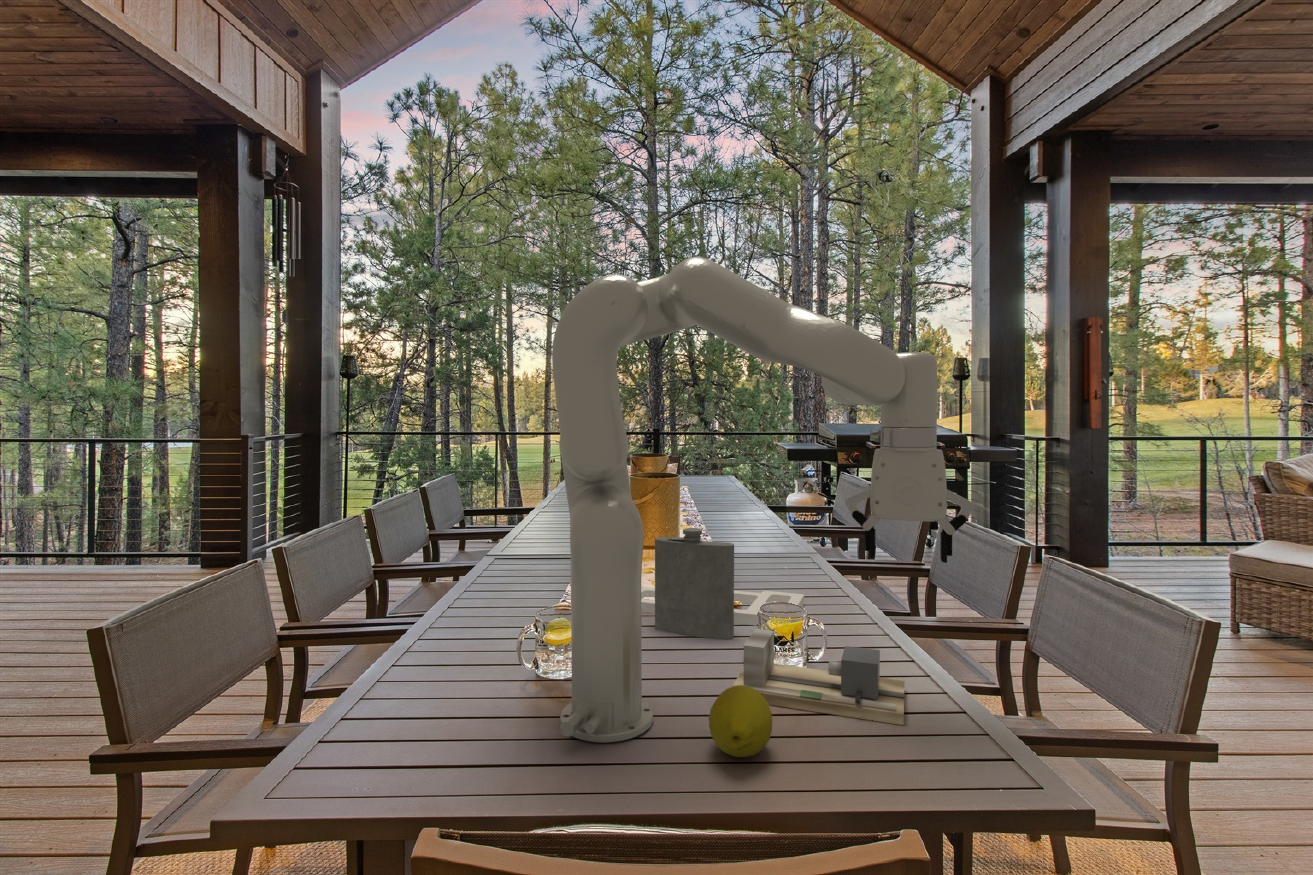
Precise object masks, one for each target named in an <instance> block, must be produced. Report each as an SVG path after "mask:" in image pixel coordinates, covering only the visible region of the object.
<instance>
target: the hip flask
mask: <svg viewBox="0 0 1313 875" xmlns="http://www.w3.org/2000/svg"><path fill="white" fill-rule="evenodd" d="M682 534H683V535H684V536H683V537H682V536H681V537H679V536H675V537H674V536H671V537H667V536H662V537H659V536H658V537H656V538H654V588H655V614H654V628H655V629H656V630H657V631H661V632H667V633H670V634H676V635H682V636H689V637H694V636H695V637H694V638H704V639H712V640H713V639H714V640H724V641H725V640H732V639H734V638H735V623H734V609H735V603H734V590H735V544H734V543H733V542H721V541H720V542H719V541H704V540H701V539H702V538H701V537H702V536H701V535H702V534H703V529H701V528H696V527H695V528H694V527H687V528H683V529H682Z"/></svg>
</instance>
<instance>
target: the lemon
mask: <svg viewBox="0 0 1313 875" xmlns="http://www.w3.org/2000/svg"><path fill="white" fill-rule="evenodd" d="M708 727H709V731H710V734H711V737H712V740H713V741H714V743H715V745H716V747H718V749H719V750H720V751H722V752H724V753H725V754H727V755H728V756H729V755H730V756H731V757H735V758H749V757H752V756H754V755H755V756H756V754H758V753H760V752H761V751H762V750H763V749H764V748H765V746H766V745H767V744H768V742H770V739H771V734H772V730H773V714H772V709H771V707H770V705H769V704H768V702H767V701H766V700H765V698H764V697H763V696H762V695H761V694H760V693H759V692H758V691H756V690H755V689H753V688H750V687H748V686H743V685H739V686H733V687H732V686H730V687H728V688H726V689H725V690H724V691H722V692H721V693H720V694H718V696H717V698H716V699H715V700H714V701H713V703H712V705H711V707H710V710H709V716H708Z"/></svg>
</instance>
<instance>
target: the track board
mask: <svg viewBox="0 0 1313 875" xmlns="http://www.w3.org/2000/svg"><path fill="white" fill-rule="evenodd" d="M739 685H743V686H748V687H750V688H753V689H755V690H756V691H758V692H759V693H760V694H761V695H762V696H763V697H764V698H765V700H766V701H767V702H768V704H769V706H777V707H784V708H789V709H796V710H802V711H806V712H807V711H809V712H815V713H821V714H826V715H827V714H828V715H835V716H842V717H846V718H847V717H848V718H853V719H860V720H867V721H872V720H873V722H881V723H887V724H893V725H899V726H905V725H904V724H905V720H904V719H905V718H904V717H905V685H906V684H905V680H903V679H902V680H901V679H892V678H886V677H880V678H879V691H878V699H872V698H865V697H861V699H860V704H855V698H856V696H851V695H844V694H841V676H835V675H829V673H828V670H825V669H819V668H818V669H817V668H813V667H812V668H810V667H802V666H795V665H789V664H788V665H787V664H782V663H781V664H780V663H775V630H770V629H768V630H767V629H759V628H755V629H754V630H753V632H752V633H751V634H750V635H749V637H748V638H747V640H746V641H745V642H744V644H743V669H742V670H741V671H740V673H739V675H738V676H737V678H736V679H735V681H734V682H733V684H732V686H731V687H733V686H739Z"/></svg>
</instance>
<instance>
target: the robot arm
mask: <svg viewBox="0 0 1313 875" xmlns="http://www.w3.org/2000/svg"><path fill="white" fill-rule="evenodd" d="M695 326H697V327H699V328H701V329H703V330H705V331H707V332H709V333H710V334H713V335H715V336H717V337H718V338H720V339H722V340H724V341H726V342H728V343H729V344H731V345H733V346H735V347H736V348H738V349H740V350H742V351H743V352H745V353H747V354H749V355H750V356H752V357H755V358H757V359H760V360H763V361H765V362H769V363H774V364H779V365H780V364H781V365H786V366H792V367H795V368H799V369H802V370H805V371H808V372H811V373H813V374H816V375H818V376H819V377H821V385H822V389H823V391H824V392H825V394H826V395H827V396H828V397H829V398H830V400H832V401H834V402H836V403H838V404H842V405H846V406H847V405H848V406H850V405H851V406H862V405H865V406H867V405H868V406H869V405H880V428H879V429H878V430H875V431H870V432H869V436H870V437H869V438H870V439H869V441H871V442H872V441H873V442H877V443H878V444H880V448H876V449H874V454H873V458H872V459H873V460H872V466H871V473H870V474H871V477H870V486H869V487H868V488H865V489H863V490H861V491H859V492H857V493H854V494H852V495H851V496H848V497H846V498H845V501H844V504H845V505H846V507H847V509H848V511H849V512H850V515H851V517H852V518H853V519H854V520H855V521H856V522H857V524H859V525H860V526H861V528H862V529H863V530H864V552H869V559H874V558H875V557H876V528H875V525H876V524H877V523H878V522H879V521H880V520H888V521H905V522H906V521H907V522H909V521H911V522H913V521H914V522H937V524H938V525H939V526H940V527H941V528H942V529H941V532H940V535H939V536H940V539H939V541H940V543H939V544H940V545H939V546H940V548H939V550H940V553H939V555H940V561H941V563H943V564H947V563H948V557H952V556H953V535H954V534H955V533H956V531H957V530H959V529H960V528H961V527H963V526H964V525H965V524H966V523H967V520H968V519H969V517H970V516H971V514H972V512H973V511H974V509H975V507H976V506H975V504H974V502H973V501H971V500H969V499H967V498H965V497H964V496H961V495H959V494H957V493H955V492H953V491H951V490H949V489H947V471H946V464H945V456H944V452H943V450H942V449H938V448H937V444H938V443H937V437H938V436H937V433H938V431H937V430H938V428H937V426H938V424H937V423H938V420H937V419H938V361H937V359H936V356H934V355H933V354H932V353H929V352H924V351H908V352H894V351H893V350H892V349H890V348H889V347H888V346H886V345H884V344H883V343H882V342H879V341H878V340H876V339H874V338H872V337H870V336H869V335H867V334H866V333H864V332H861V331H860V330H858V329H856V328H854V327H853V326H850V325H848V324H846V323H843V322H841V321H839V320H836V319H834V318H831V317H828V316H825V315H823V314H819V313H816V312H814V311H811V310H809V309H806V308H804V307H801V306H798V305H795V304H792V303H789V302H787V301H785V300H783V299H782V298H779V297H778V296H776V295H774V294H772V293H770V292H769V291H767V290H766V289H763V288H762V287H760V286H758V285H756V284H755V283H752V282H751V281H749V280H748V279H746V278H744V277H742V276H741V275H738V274H737V273H735V272H733V271H731V270H730V269H728V268H726V267H725V266H722V265H721V264H719V263H718V262H716V261H714V260H712V259H708V258H705V257H701V256H693V257H689V258H685V259H683V260H682V261H680V262H679V263H677V264H676V266H674V267H673V268H672V270H670V272H669V273H665V274H663V275H660V276H657V277H654V278H650V279H646V280H643V281H639V282H637V281H636V280H634V279H633V278H631V277H629V276H627V275H624V274H619V273H618V274H617V273H612V274H611V273H610V274H607V275H604V276H600V277H599V278H596V279H594V280H593V281H592V282H590V283H588V284H587V285H586V286H585V287H583V288H582V289H581V290H580V291H579V292H578V293H577V294H575V296H573V297H572V299H571V300H569V303H568V304H567V305H566V307H565V308H564V310H563V311H562V313H561V315H560V317H559V320H558V322H557V326H556V329H555V331H554V334H553V340H552V348H551V349H552V352H551V365H552V376H553V385H554V394H555V403H556V404H555V405H556V410H557V419H558V426H559V427H558V428H559V441H558V442H559V443H558V446H559V454H560V456H561V457H560V458H561V465H562V471H563V477H564V478H563V479H564V485H565V486H564V487H565V493H566V499H567V505H568V512H569V542H570V543H569V545H570V547H569V548H570V550H569V551H570V613H571V614H570V616H571V618H570V621H571V623H570V626H571V627H570V628H571V629H570V630H571V634H570V637H571V645H570V646H571V648H570V649H571V702H570V703H569V704H567V705H566V706H565V707H564V708H562V711H561V712H560V717H559V718H560V720H559V721H560V726H559V730H560V733H561V735H563V736H564V737H567V738H568V737H573V738H575V739H577V740H581V741H583V742H584V741H586V742H592V743H603V744H604V743H615V742H617V743H618V742H622V741H623V742H624V741H625V740H627V741H628V740H631V739H634V738H636V737H638V736H640V735H642V734H644V733H645V732H646V731H648V730H649V729H650V727H652V724H653V721H654V712H653V709H652V707H651V706H650V705H649V704H648V703H647V702H645V701H644V700H642V698H643V696H642V695H643V694H642V687H643V686H642V683H643V682H642V672H643V671H642V664H643V663H642V661H643V660H642V653H643V652H642V623H643V622H642V621H643V620H642V612H641V587H642V576H643V575H642V571H643V557H644V526H643V520H642V517H641V514H640V511H639V509H638V507H637V506H636V504H635V503H634V501H633V498H632V492H631V483H630V477H629V469H628V468H629V467H628V463H627V462H628V461H627V460H628V457H629V456H628V455H629V448H630V447H629V446H630V445H629V439H628V435H627V432H626V426H625V422H624V416H623V411H622V403H621V398H620V397H621V396H620V387H619V386H620V384H619V377H618V376H619V375H618V365H617V363H618V355H619V352H620V348H621V347H624V346H627V345H631V344H636V343H639V342H642V341H646V340H650V339H653V338H654V339H655V338H658V337H662V336H665V335H666V336H667V335H669V334H673V333H676V332H679V331H683V330H687V329H688V328H691V327H695ZM869 498H870V499H869ZM867 499H869V501H870V502H869V504H870V505H869V506H870V512H871V513H870V514H869V515H868V516H866V515H865V514H863V512H862V511H861V510H860V508H859V506H858V504H859V503H860V502H863V501H865V500H867ZM948 501H949V502H951V503H953V504H955V505H956V506H959V507H960V510H959V512H958V514H957V515H955V516H954V517H953V518H952V519H951V520H949V519H948V518H947V514H948V513H947V512H948Z"/></svg>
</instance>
